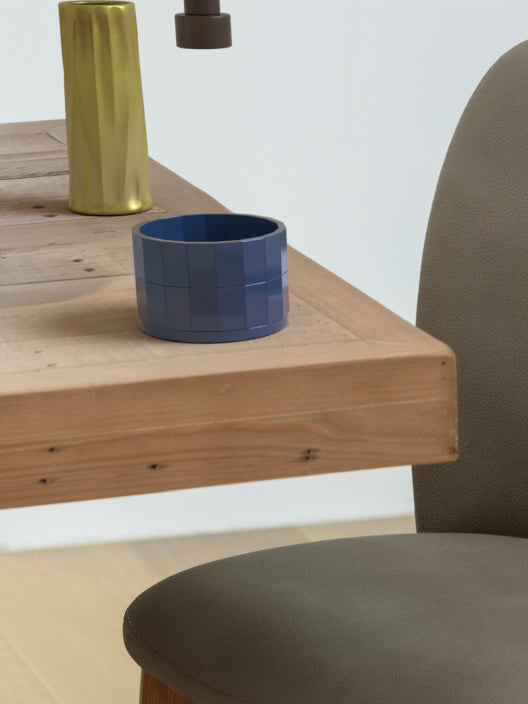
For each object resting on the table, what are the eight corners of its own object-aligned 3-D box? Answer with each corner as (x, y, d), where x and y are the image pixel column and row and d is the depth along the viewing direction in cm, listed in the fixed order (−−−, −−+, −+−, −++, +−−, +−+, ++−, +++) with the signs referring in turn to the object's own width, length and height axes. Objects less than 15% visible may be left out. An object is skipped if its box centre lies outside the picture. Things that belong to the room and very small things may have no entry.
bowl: (252, 348, 80) (247, 248, 78) (110, 334, 82) (102, 236, 80) (312, 311, 87) (309, 218, 85) (180, 299, 89) (174, 208, 87)
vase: (66, 217, 110) (48, 5, 105) (70, 200, 115) (53, -1, 110) (154, 214, 111) (141, 5, 106) (154, 199, 117) (141, -1, 111)
